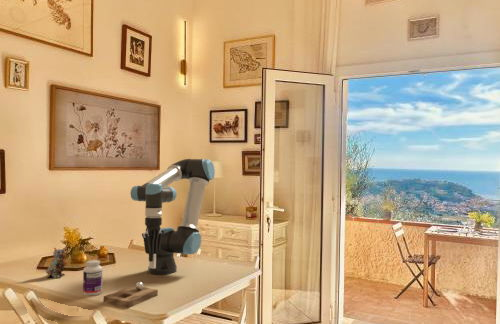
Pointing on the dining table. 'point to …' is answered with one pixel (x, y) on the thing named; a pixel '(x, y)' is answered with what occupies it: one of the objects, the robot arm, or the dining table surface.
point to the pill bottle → (92, 278)
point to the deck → (130, 296)
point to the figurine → (57, 264)
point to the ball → (139, 285)
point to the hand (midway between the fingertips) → (152, 267)
